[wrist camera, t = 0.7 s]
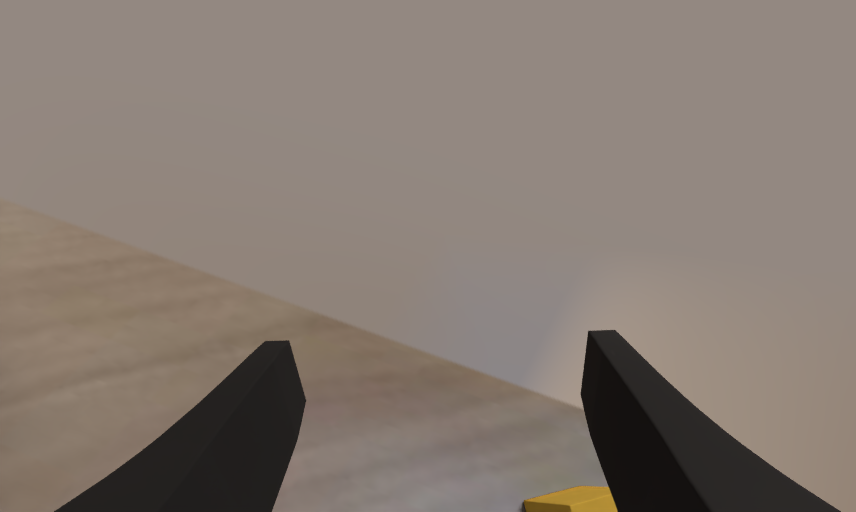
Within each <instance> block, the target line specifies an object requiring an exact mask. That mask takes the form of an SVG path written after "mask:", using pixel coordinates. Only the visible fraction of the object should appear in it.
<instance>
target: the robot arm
mask: <svg viewBox="0 0 856 512" xmlns="http://www.w3.org/2000/svg"><path fill="white" fill-rule="evenodd" d="M581 398H582V402H583V407H584V411H585V416H586V420H587V424H588V428H589V432H590V436H591V439H592V442H593V445H594V447H595V450H596V453H597V456H598V459H599V461H600V464H601V467H602V470H603V472H604V475H605V478H606V481H607V483H608V486H609V489H610V492H611V494H612V497H613V500H614V503H615V505H616V508H617V511H618V512H841V511H839V510H838V509H836V508H834V507H833V506H831V505H830V504H828V503H826V502H825V501H823V500H822V499H820V498H819V497H817V496H816V495H814V494H813V493H811V492H809V491H808V490H807V489H805V488H803V487H802V486H800V485H798V484H797V483H796V482H794V481H793V480H791V479H790V478H788V477H787V476H786V475H784V474H782V473H781V472H780V471H778V470H777V469H775V468H774V467H773V466H771V465H770V464H768V463H767V462H766V461H764V460H763V459H762V458H760V457H759V456H757V455H756V454H755V453H753V452H752V451H751V450H749V449H748V448H746V447H745V446H744V445H742V444H741V443H740V442H738V441H737V440H736V439H734V438H733V437H732V436H731V435H729V434H728V433H727V432H726V431H724V430H723V429H722V428H721V427H719V426H718V425H717V424H716V423H715V422H713V421H712V420H711V419H710V418H709V417H707V416H706V415H705V414H704V413H703V412H701V411H700V410H699V409H698V408H696V406H694V405H693V404H692V403H691V402H690V401H689V400H688V399H686V398H685V397H684V396H683V395H682V394H681V393H680V392H679V391H678V390H677V389H676V388H674V387H673V386H672V385H671V384H670V383H669V382H668V381H667V380H666V379H665V378H663V377H662V375H660V374H659V373H658V372H657V371H656V370H655V369H654V368H653V367H652V366H651V365H650V364H649V363H648V362H647V361H646V360H645V359H644V358H643V357H642V356H641V355H640V354H639V353H638V352H637V351H636V350H635V349H634V348H633V347H632V346H631V345H630V344H629V343H628V342H627V341H626V340H625V339H624V338H623V337H622V336H621V335H620V334H619V333H617V332H616V331H615V330H602V331H588V338H587V346H586V355H585V363H584V372H583V379H582V388H581ZM305 403H306V399H305V395H304V392H303V388H302V384H301V381H300V377H299V374H298V370H297V367H296V363H295V360H294V356H293V353H292V349H291V346H290V342H289V341H265V342H264V343H263V344H262V345H260V346H259V347H258V348H257V349H256V350H255V351H254V352H253V353H252V354H251V355H250V356H248V357H247V358H246V359H245V360H244V361H243V362H242V363H241V364H240V365H239V366H238V367H237V368H236V369H235V370H234V371H233V372H232V373H231V374H230V375H229V376H227V377H226V378H225V379H224V380H223V381H222V382H221V383H220V384H219V385H218V386H217V387H216V388H215V389H213V390H212V391H211V392H210V393H209V394H208V395H207V396H206V397H205V398H204V399H203V400H202V401H201V402H199V403H198V404H197V405H196V406H195V407H194V408H192V409H191V410H190V411H189V412H188V413H187V414H185V415H184V416H183V417H182V418H181V419H180V420H178V421H177V422H176V423H175V424H174V425H173V426H172V427H170V428H169V429H168V430H167V431H166V432H165V433H163V434H162V435H161V436H160V437H159V438H157V439H156V440H155V441H154V442H152V443H151V444H150V445H148V446H147V447H146V448H145V449H143V450H142V451H141V452H139V453H138V454H137V455H135V456H134V457H133V458H131V459H130V460H129V461H127V462H126V463H125V464H123V465H122V466H121V467H119V468H118V469H117V470H115V471H114V472H112V473H111V474H110V475H108V476H107V477H105V478H104V479H103V480H101V481H100V482H98V483H97V484H95V485H94V486H92V487H91V488H89V489H87V490H86V491H84V492H83V493H81V494H80V495H78V496H77V497H75V498H74V499H72V500H71V501H69V502H68V503H66V504H65V505H63V506H62V507H60V508H59V509H57V510H56V511H54V512H272V509H273V506H274V504H275V501H276V498H277V495H278V493H279V490H280V487H281V484H282V482H283V479H284V476H285V473H286V471H287V468H288V465H289V462H290V459H291V456H292V454H293V451H294V448H295V445H296V442H297V439H298V435H299V430H300V426H301V422H302V417H303V413H304V408H305Z"/></svg>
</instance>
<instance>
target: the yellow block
mask: <svg viewBox="0 0 856 512" xmlns="http://www.w3.org/2000/svg"><path fill="white" fill-rule="evenodd" d="M524 504H525V509H526V512H618V511H617V508H616V505H615V503H614V500H613V497H612V494H611V492H610V489H609V487H593V486H578V487H574V488H570V489H566V490H562V491H558V492H555V493H551V494H547V495H543V496H539V497H535V498H531V499H527V500H524Z"/></svg>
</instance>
